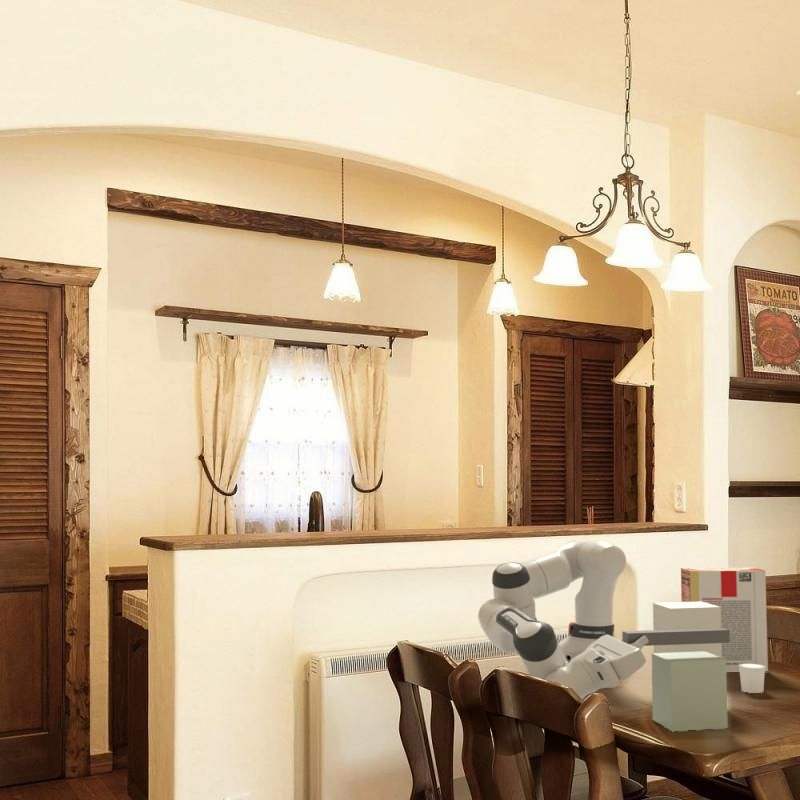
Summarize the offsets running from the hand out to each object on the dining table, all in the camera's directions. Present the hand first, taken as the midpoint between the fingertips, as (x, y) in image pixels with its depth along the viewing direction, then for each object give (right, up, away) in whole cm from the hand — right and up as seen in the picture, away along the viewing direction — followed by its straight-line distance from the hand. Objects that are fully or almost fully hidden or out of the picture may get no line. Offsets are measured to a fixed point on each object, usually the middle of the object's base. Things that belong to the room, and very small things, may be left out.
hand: (642, 636), depth 227 cm
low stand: (+12, -21, +1) cm, 24 cm away
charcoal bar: (+9, -2, +1) cm, 9 cm away
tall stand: (+18, -23, +23) cm, 37 cm away
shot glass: (+39, -24, +34) cm, 57 cm away
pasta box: (+40, -25, +61) cm, 78 cm away
